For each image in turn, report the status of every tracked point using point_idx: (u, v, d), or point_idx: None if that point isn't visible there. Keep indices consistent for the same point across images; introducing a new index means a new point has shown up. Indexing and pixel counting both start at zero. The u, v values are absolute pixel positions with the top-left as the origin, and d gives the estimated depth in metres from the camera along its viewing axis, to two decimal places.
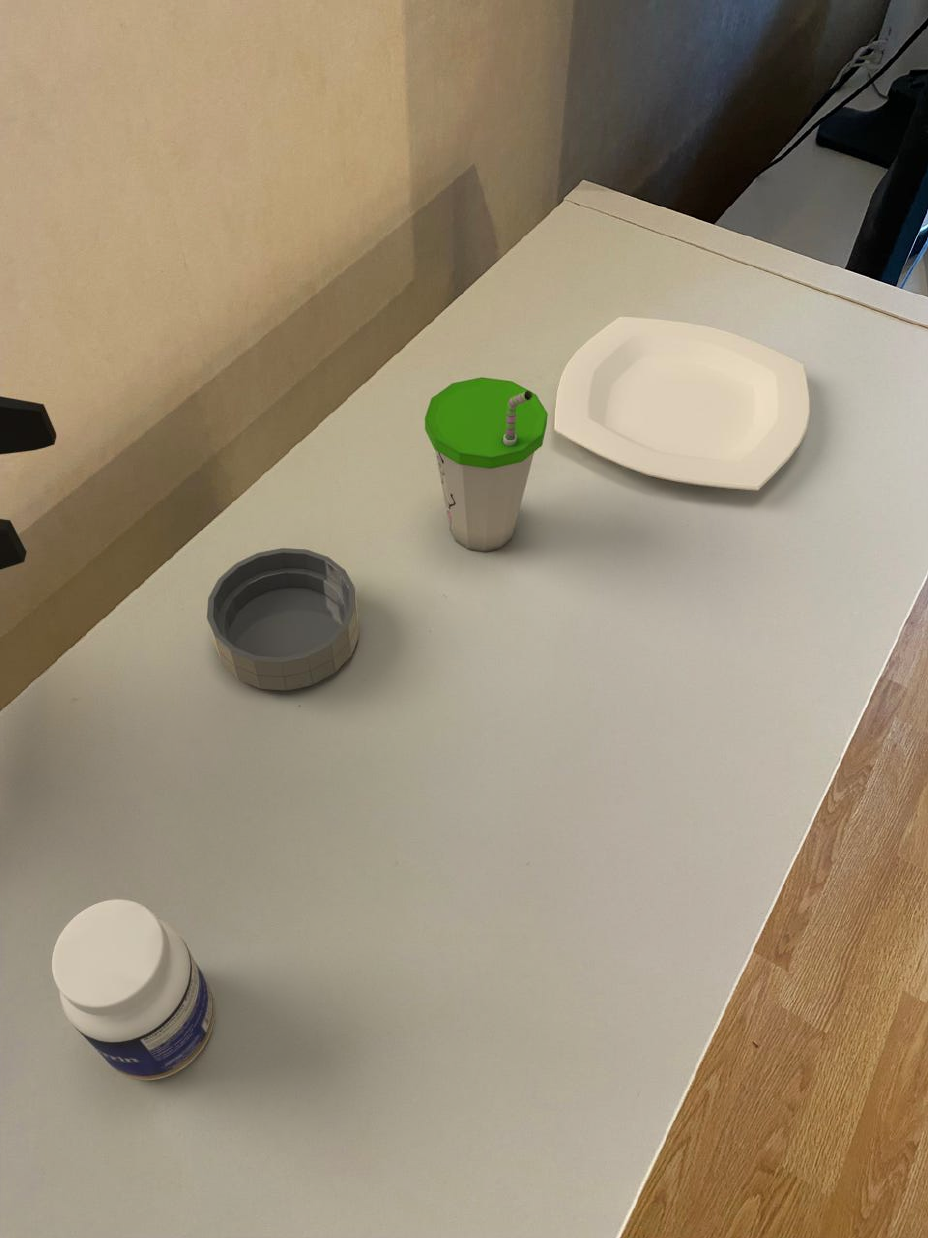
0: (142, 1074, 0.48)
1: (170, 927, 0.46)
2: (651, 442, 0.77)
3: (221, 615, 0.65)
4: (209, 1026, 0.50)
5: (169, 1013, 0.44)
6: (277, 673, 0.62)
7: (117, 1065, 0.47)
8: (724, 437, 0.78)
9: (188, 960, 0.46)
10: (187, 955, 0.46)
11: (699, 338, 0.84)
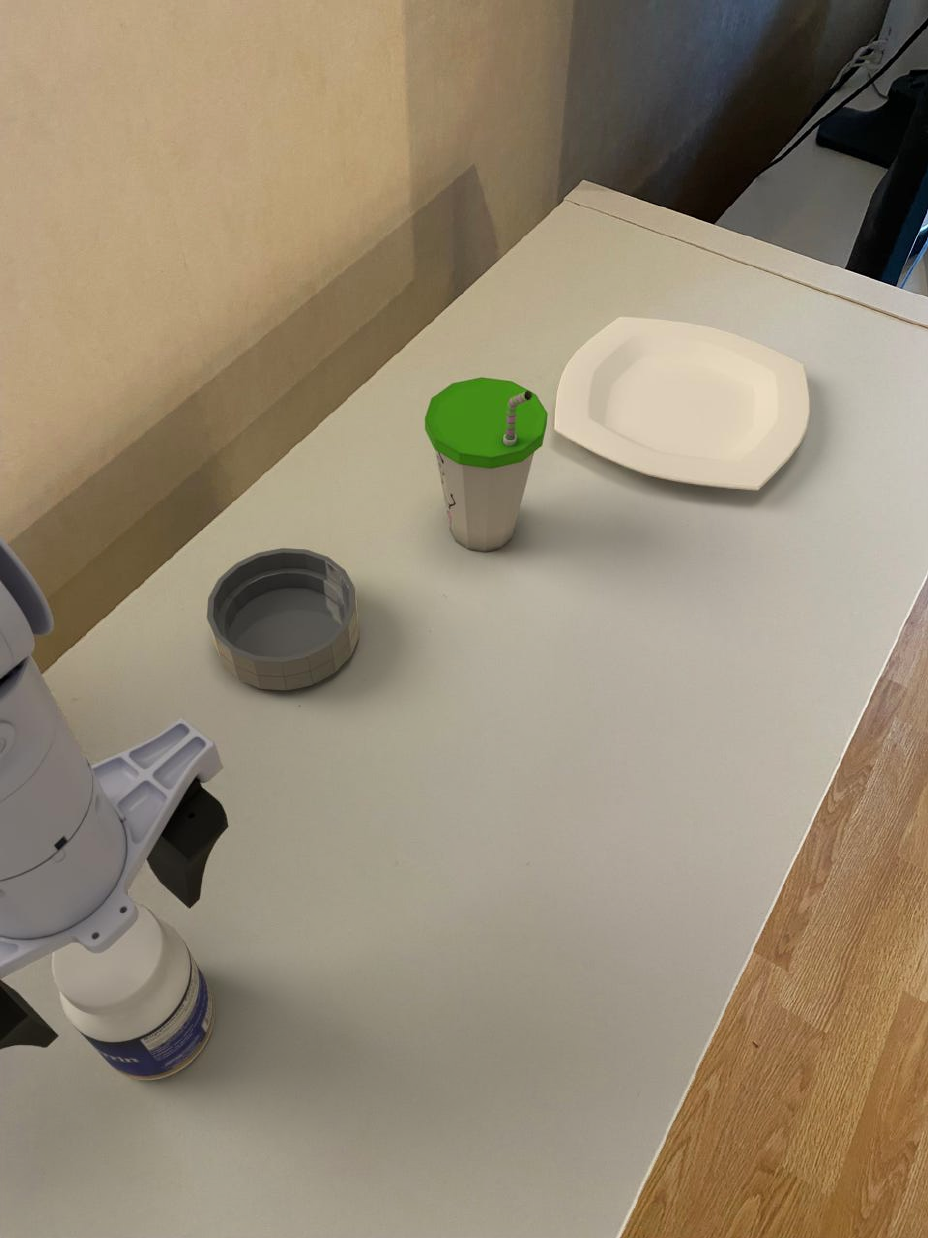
0: (142, 1074, 0.48)
1: (170, 927, 0.46)
2: (651, 442, 0.77)
3: (221, 615, 0.65)
4: (209, 1026, 0.50)
5: (169, 1013, 0.44)
6: (277, 673, 0.62)
7: (117, 1065, 0.47)
8: (724, 437, 0.78)
9: (188, 960, 0.46)
10: (187, 955, 0.46)
11: (699, 338, 0.84)
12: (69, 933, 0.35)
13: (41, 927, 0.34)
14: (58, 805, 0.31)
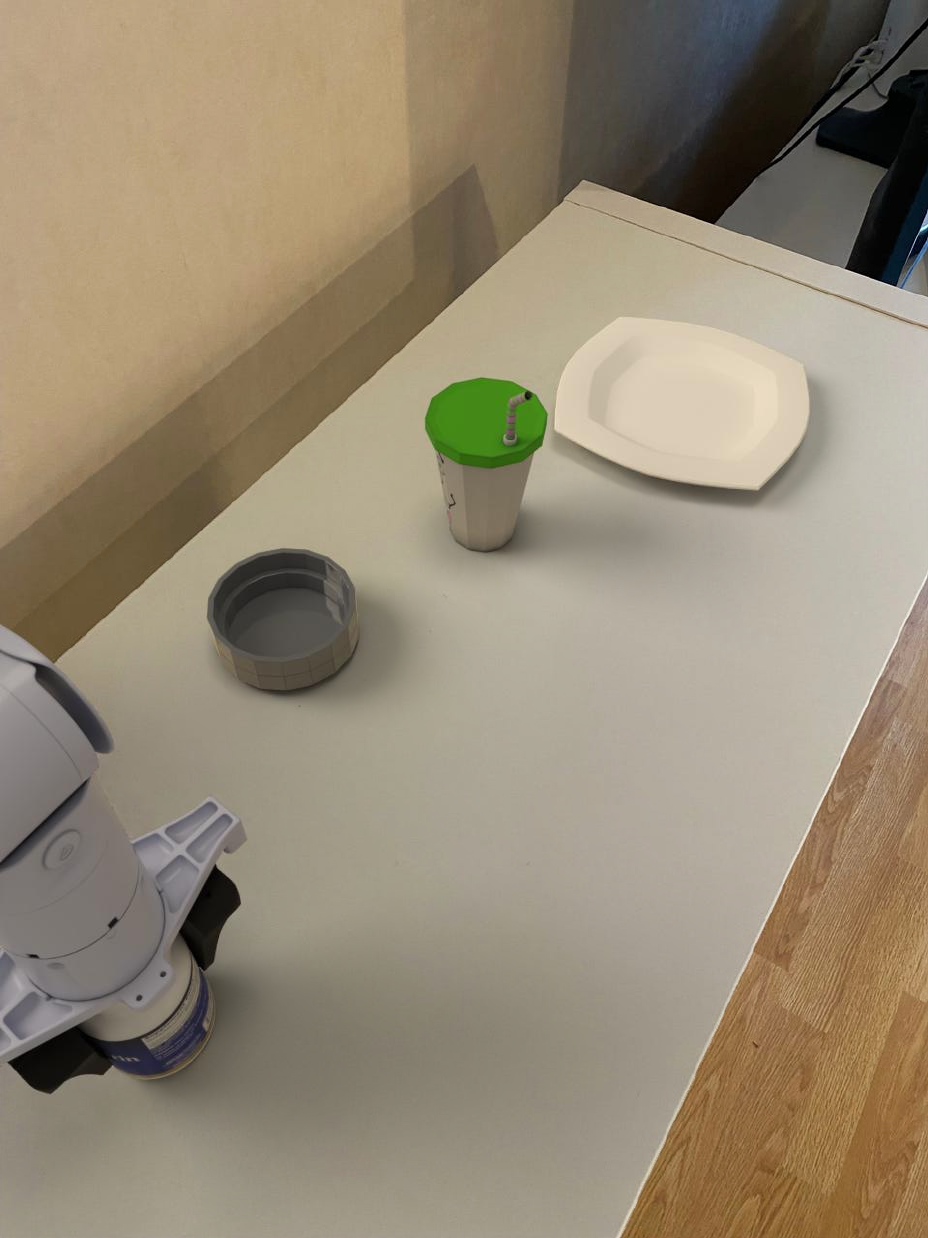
0: (143, 1073, 0.48)
1: None
2: (651, 442, 0.77)
3: (221, 615, 0.65)
4: (210, 1025, 0.50)
5: (170, 1012, 0.44)
6: (277, 673, 0.62)
7: (118, 1064, 0.47)
8: (724, 437, 0.78)
9: (189, 959, 0.46)
10: (188, 954, 0.46)
11: (699, 338, 0.84)
12: (116, 995, 0.40)
13: (92, 991, 0.39)
14: (112, 892, 0.36)
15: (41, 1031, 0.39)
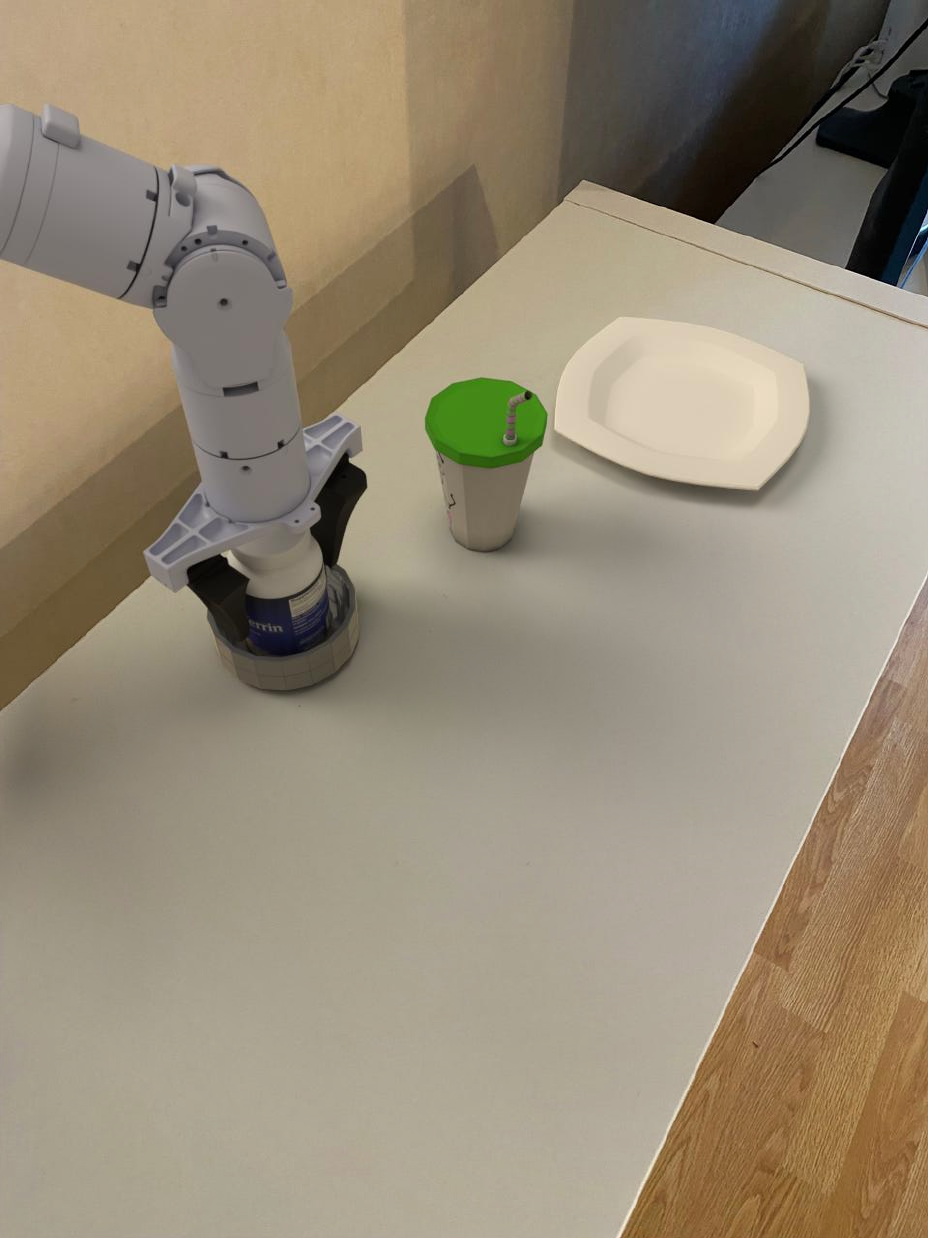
0: (281, 652, 0.63)
1: None
2: (651, 442, 0.77)
3: None
4: (329, 626, 0.65)
5: (310, 581, 0.59)
6: (277, 673, 0.62)
7: (264, 640, 0.62)
8: (724, 437, 0.78)
9: None
10: None
11: (699, 338, 0.84)
12: (280, 519, 0.54)
13: (264, 511, 0.53)
14: None
15: (227, 538, 0.53)
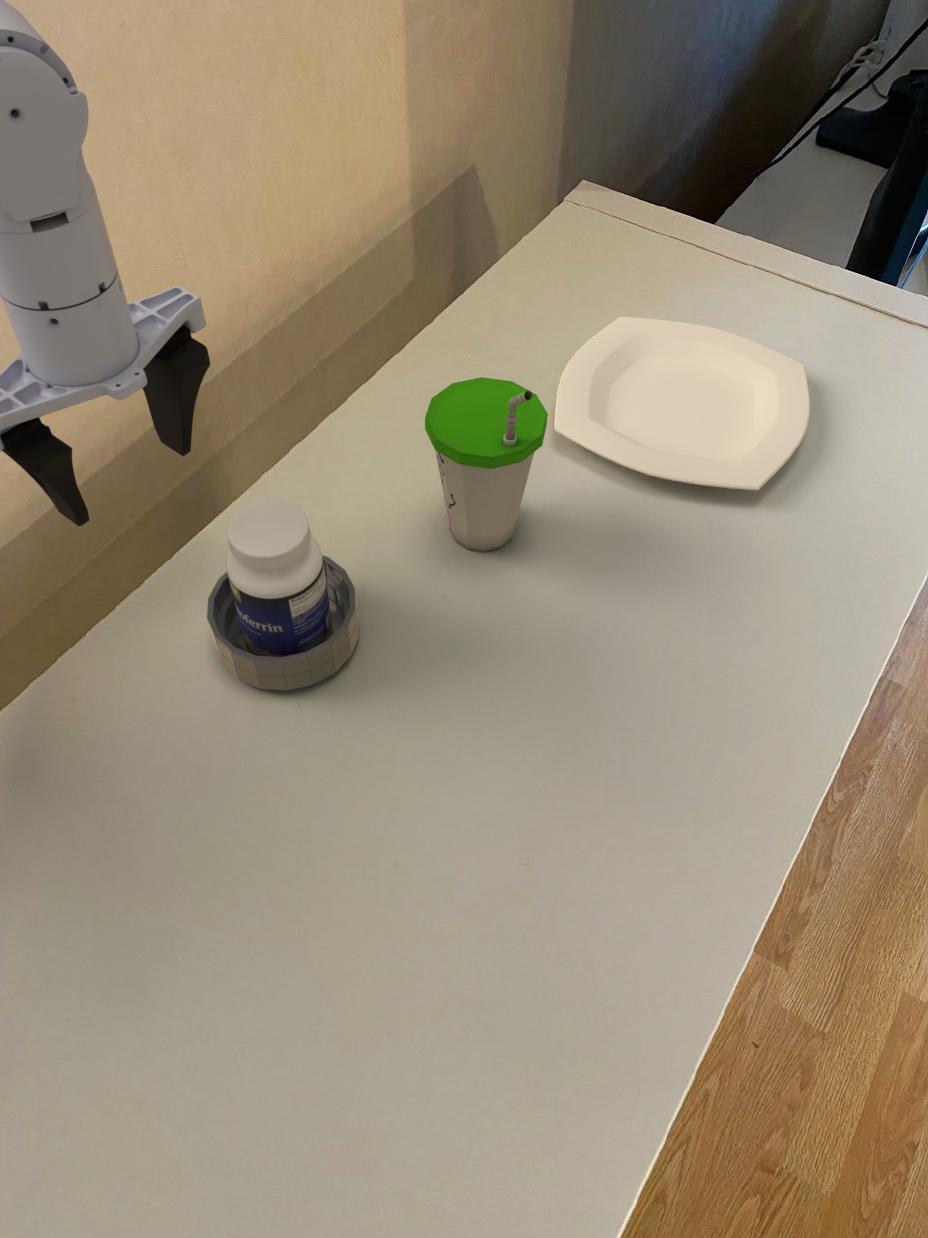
0: (281, 652, 0.63)
1: None
2: (651, 442, 0.77)
3: (221, 615, 0.65)
4: (329, 626, 0.65)
5: (310, 581, 0.59)
6: (277, 673, 0.62)
7: (264, 640, 0.62)
8: (724, 437, 0.78)
9: None
10: None
11: (699, 338, 0.84)
12: (100, 383, 0.51)
13: (82, 373, 0.51)
14: None
15: (42, 401, 0.51)
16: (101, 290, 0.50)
